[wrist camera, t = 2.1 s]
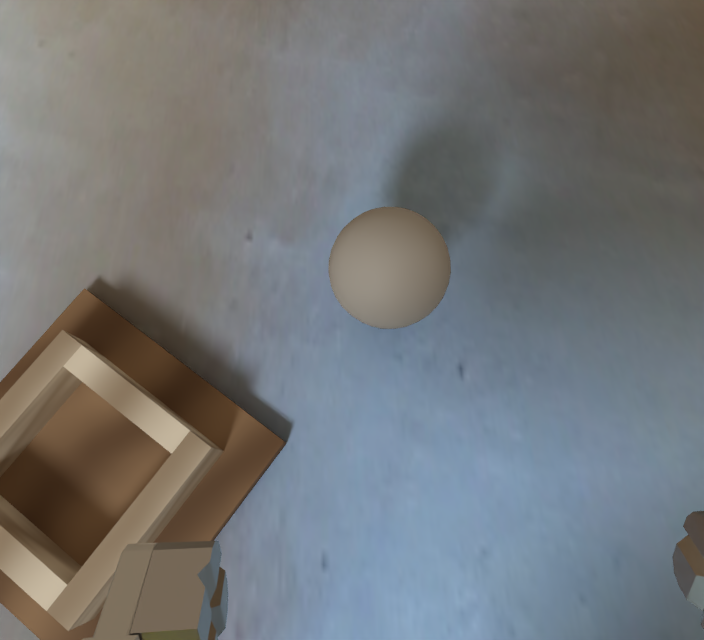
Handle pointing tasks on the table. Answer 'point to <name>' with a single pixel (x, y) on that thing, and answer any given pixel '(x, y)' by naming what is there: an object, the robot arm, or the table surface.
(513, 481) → the table surface
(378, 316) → the lightbulb
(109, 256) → the table surface
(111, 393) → the board
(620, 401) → the table surface
